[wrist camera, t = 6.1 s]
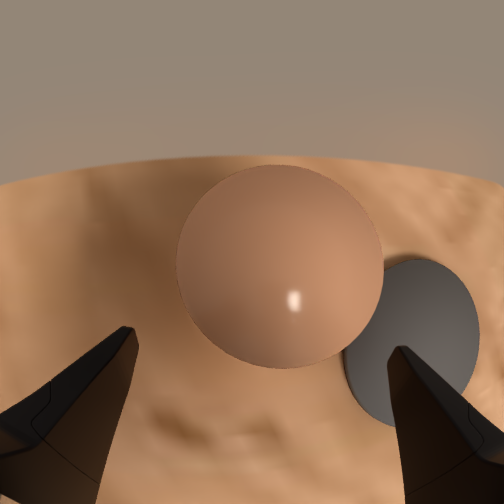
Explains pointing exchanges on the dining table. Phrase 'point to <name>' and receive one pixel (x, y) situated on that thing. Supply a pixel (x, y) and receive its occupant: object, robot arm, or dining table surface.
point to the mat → (414, 332)
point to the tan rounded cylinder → (279, 266)
